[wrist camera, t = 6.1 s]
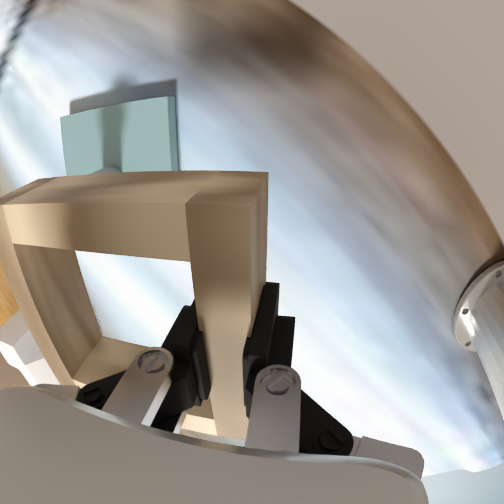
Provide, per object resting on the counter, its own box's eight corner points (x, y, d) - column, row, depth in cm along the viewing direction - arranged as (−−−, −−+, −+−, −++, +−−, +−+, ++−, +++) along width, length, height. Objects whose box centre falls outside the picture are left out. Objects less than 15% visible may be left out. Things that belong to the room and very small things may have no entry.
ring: (268, 172, 10) (250, 205, 7) (262, 384, 15) (250, 440, 12) (38, 178, 12) (-15, 205, 9) (90, 349, 17) (62, 388, 14)
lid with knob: (174, 96, 23) (127, 96, 17) (185, 241, 30) (150, 281, 23) (69, 115, 26) (17, 126, 19) (86, 234, 32) (45, 265, 25)
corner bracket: (37, 292, 40) (-9, 336, 29) (83, 299, 37) (31, 354, 27) (62, 342, 44) (25, 387, 34) (108, 354, 42) (70, 409, 32)
